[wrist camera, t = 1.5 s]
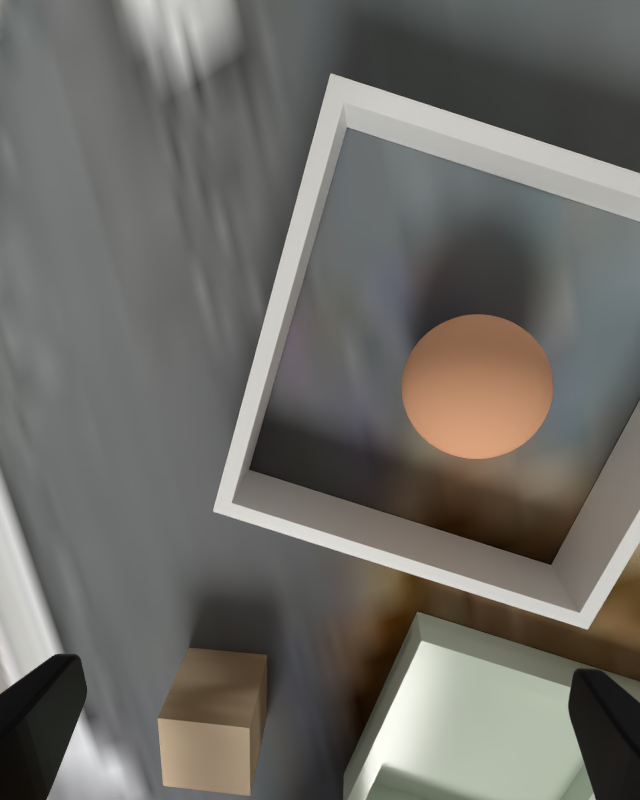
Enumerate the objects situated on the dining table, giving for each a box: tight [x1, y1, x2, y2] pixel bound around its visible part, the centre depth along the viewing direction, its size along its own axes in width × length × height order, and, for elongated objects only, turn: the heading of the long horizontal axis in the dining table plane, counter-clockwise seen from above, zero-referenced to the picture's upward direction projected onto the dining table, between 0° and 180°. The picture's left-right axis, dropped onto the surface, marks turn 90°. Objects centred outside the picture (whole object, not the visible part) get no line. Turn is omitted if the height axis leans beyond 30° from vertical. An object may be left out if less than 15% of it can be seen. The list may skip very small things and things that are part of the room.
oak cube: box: [158, 648, 267, 796], centre depth 23 cm, size 4×4×4 cm
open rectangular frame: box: [213, 74, 640, 630], centre depth 18 cm, size 15×15×3 cm
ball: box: [402, 314, 553, 459], centre depth 17 cm, size 5×5×5 cm
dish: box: [343, 612, 640, 800], centre depth 24 cm, size 11×11×2 cm
